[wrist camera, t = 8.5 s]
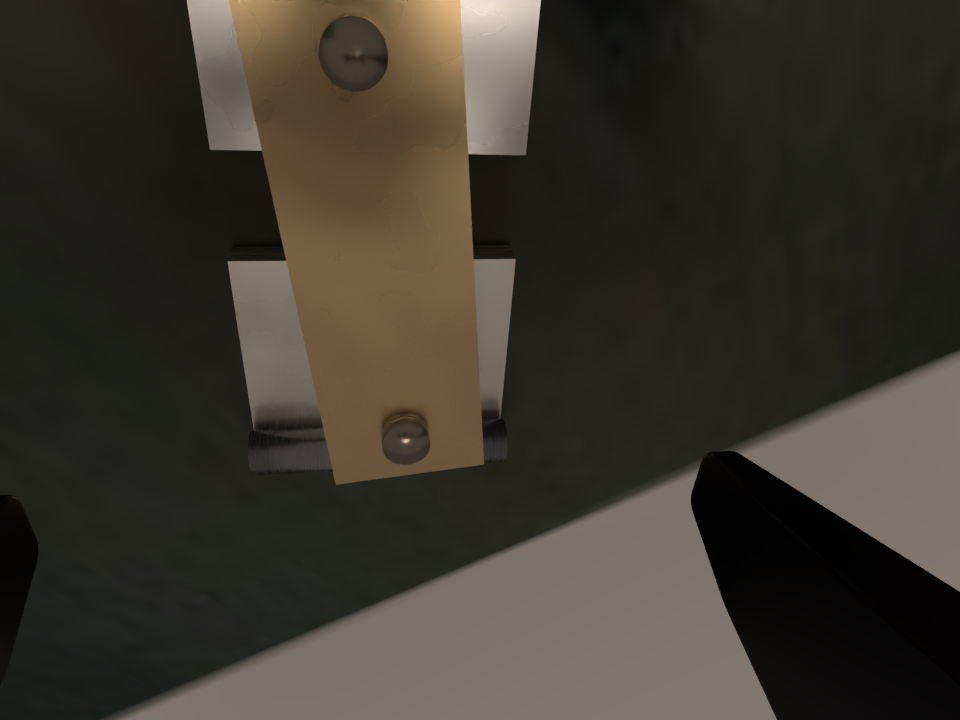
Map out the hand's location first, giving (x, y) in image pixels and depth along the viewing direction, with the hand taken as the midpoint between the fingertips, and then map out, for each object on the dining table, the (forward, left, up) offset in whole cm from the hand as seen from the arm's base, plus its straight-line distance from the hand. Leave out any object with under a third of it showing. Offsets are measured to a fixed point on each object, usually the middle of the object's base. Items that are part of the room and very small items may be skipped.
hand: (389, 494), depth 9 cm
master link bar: (0, 0, -11) cm, 11 cm away
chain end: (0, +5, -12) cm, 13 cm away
